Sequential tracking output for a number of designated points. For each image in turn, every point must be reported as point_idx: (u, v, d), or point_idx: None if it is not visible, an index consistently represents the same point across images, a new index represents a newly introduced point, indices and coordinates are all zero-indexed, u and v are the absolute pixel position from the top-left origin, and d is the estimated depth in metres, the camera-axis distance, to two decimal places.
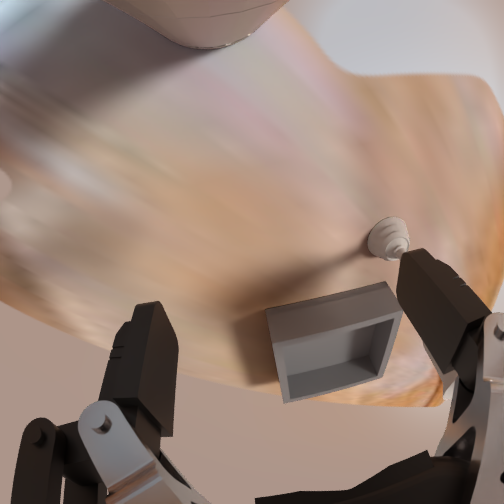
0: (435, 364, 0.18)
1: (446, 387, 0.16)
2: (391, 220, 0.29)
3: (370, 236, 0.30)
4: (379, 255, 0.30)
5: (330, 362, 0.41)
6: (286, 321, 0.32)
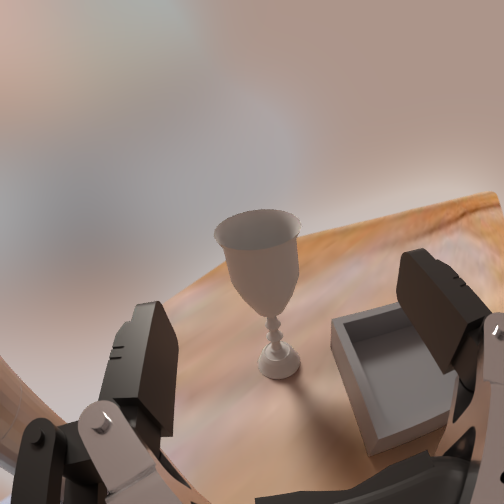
0: (277, 271, 0.24)
1: (265, 250, 0.22)
2: (259, 363, 0.34)
3: (275, 377, 0.32)
4: (289, 364, 0.32)
5: None
6: (366, 430, 0.22)
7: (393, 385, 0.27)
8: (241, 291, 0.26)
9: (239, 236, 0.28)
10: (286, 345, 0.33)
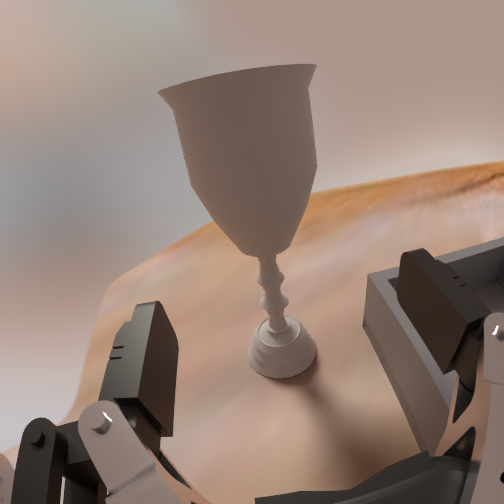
0: (275, 134, 0.11)
1: (247, 74, 0.09)
2: (249, 353, 0.21)
3: (276, 375, 0.19)
4: (299, 352, 0.19)
5: None
6: None
7: None
8: (205, 192, 0.13)
9: None
10: (294, 321, 0.20)
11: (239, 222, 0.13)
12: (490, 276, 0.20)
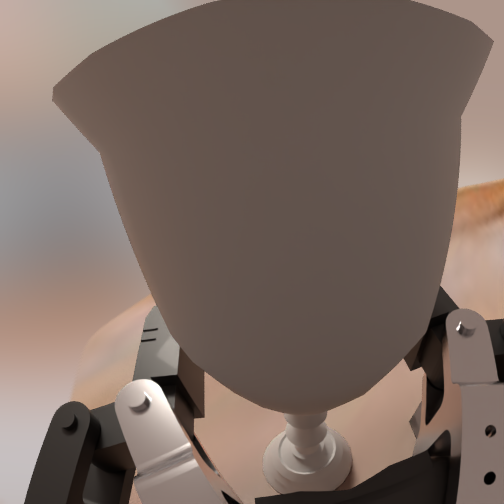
0: (409, 258, 0.03)
1: (367, 18, 0.01)
2: (265, 465, 0.13)
3: None
4: (333, 474, 0.12)
5: None
6: None
7: None
8: (194, 359, 0.05)
9: None
10: (327, 435, 0.13)
11: (271, 406, 0.06)
12: None
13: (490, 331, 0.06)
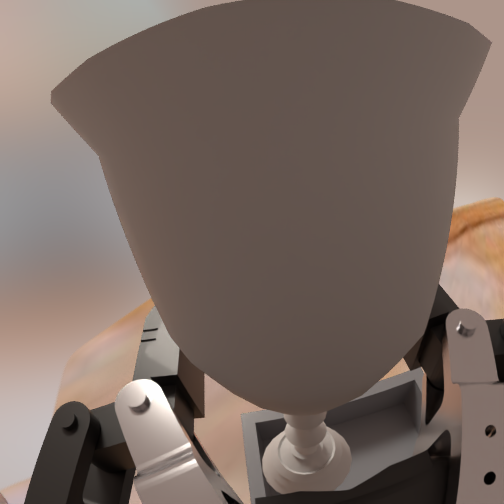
0: (406, 261, 0.03)
1: (362, 22, 0.01)
2: (265, 466, 0.13)
3: None
4: (333, 474, 0.12)
5: None
6: None
7: None
8: (192, 360, 0.05)
9: None
10: (327, 435, 0.13)
11: (269, 407, 0.06)
12: (393, 402, 0.21)
13: (490, 331, 0.06)
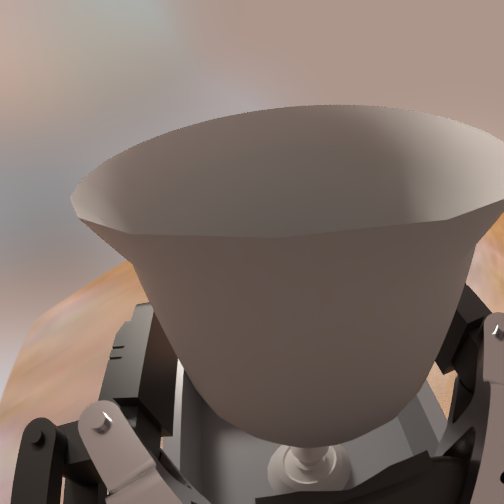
0: (411, 362, 0.04)
1: (424, 238, 0.02)
2: (270, 474, 0.14)
3: None
4: (334, 483, 0.12)
5: (393, 438, 0.15)
6: None
7: (266, 485, 0.14)
8: (219, 415, 0.06)
9: (216, 197, 0.08)
10: (329, 447, 0.13)
11: None
12: None
13: None
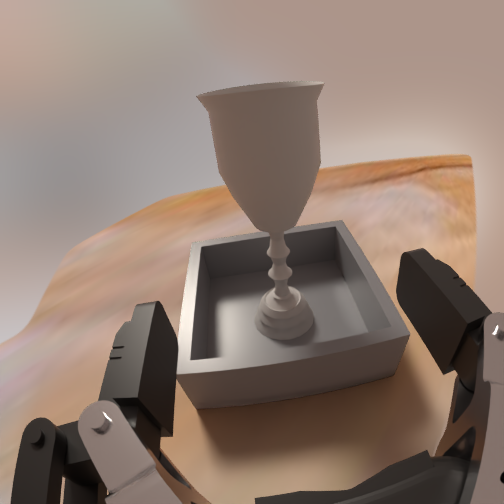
0: (290, 138, 0.14)
1: (271, 92, 0.12)
2: (256, 317, 0.25)
3: (279, 337, 0.23)
4: (299, 317, 0.23)
5: (345, 302, 0.25)
6: None
7: (253, 327, 0.25)
8: (232, 178, 0.16)
9: None
10: (295, 291, 0.24)
11: (257, 203, 0.17)
12: (322, 254, 0.30)
13: None
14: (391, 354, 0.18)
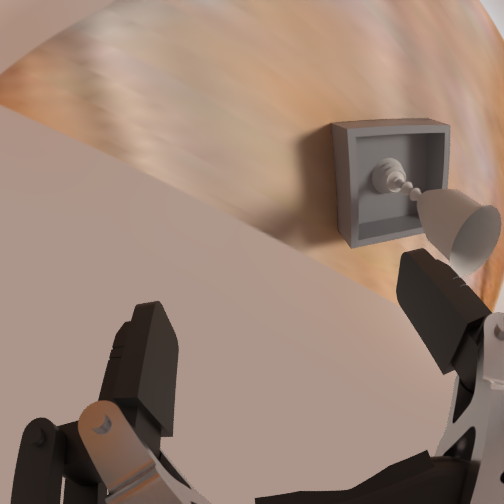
0: (437, 242, 0.24)
1: (450, 250, 0.21)
2: (389, 160, 0.35)
3: (373, 172, 0.36)
4: (382, 188, 0.36)
5: (389, 213, 0.39)
6: (354, 124, 0.31)
7: (384, 157, 0.35)
8: (437, 200, 0.24)
9: (484, 213, 0.22)
10: (399, 189, 0.35)
11: (424, 205, 0.26)
12: None
13: None
14: (346, 234, 0.38)
